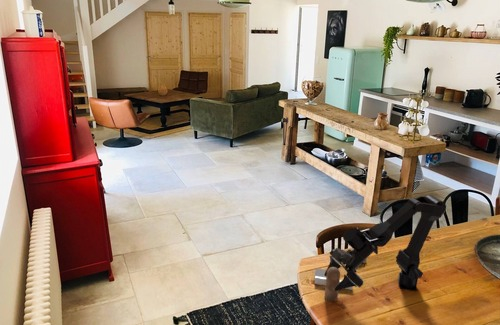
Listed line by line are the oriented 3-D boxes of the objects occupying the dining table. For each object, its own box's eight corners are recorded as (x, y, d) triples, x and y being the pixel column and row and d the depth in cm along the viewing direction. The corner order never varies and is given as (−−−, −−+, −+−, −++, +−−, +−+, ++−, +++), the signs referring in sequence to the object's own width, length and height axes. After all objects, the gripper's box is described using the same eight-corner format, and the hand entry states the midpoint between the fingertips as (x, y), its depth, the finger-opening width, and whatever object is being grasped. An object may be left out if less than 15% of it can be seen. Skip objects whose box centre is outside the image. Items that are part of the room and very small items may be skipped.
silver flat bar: (352, 288, 162) (353, 282, 161) (352, 289, 161) (352, 283, 160) (314, 282, 166) (315, 276, 165) (314, 283, 165) (315, 277, 164)
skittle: (337, 294, 158) (340, 265, 154) (337, 302, 154) (340, 272, 149) (324, 292, 159) (327, 263, 155) (324, 300, 155) (326, 270, 150)
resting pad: (332, 271, 173) (332, 270, 173) (331, 281, 166) (331, 280, 166) (315, 269, 174) (315, 268, 174) (314, 278, 168) (314, 277, 168)
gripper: (336, 230, 158) (307, 258, 159) (359, 256, 141) (327, 287, 142) (352, 246, 163) (324, 272, 164) (376, 272, 146) (345, 302, 147)
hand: (329, 282), depth 154 cm, fingers open, 9 cm apart
